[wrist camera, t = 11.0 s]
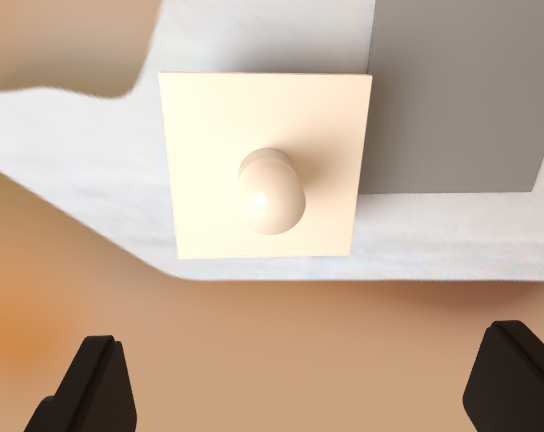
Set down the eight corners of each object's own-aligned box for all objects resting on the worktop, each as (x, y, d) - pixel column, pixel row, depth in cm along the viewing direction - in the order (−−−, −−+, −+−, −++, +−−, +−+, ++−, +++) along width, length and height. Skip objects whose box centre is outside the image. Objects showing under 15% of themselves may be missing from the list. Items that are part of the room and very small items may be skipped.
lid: (367, 74, 22) (403, 84, 17) (345, 247, 27) (368, 294, 22) (161, 71, 21) (137, 81, 16) (180, 251, 26) (166, 300, 21)
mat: (600, -21, 26) (605, -21, 26) (528, 190, 33) (531, 192, 33) (379, -28, 25) (381, -29, 25) (352, 192, 32) (353, 193, 32)
